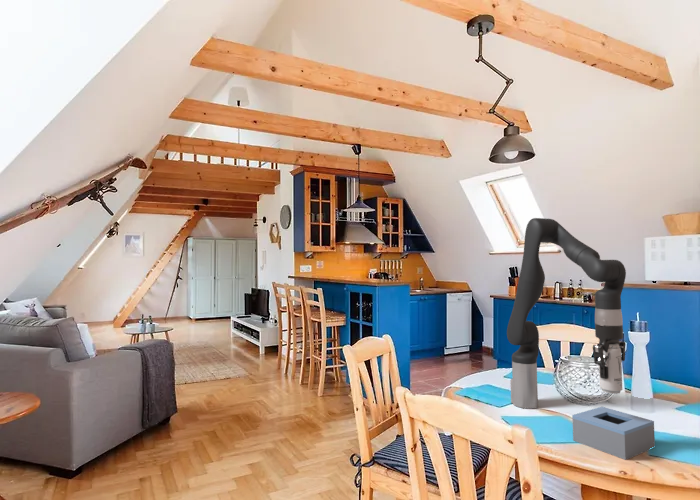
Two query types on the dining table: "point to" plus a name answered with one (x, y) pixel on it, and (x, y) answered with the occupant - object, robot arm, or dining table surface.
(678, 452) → the dining table surface
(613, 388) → the energy drink can
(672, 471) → the dining table surface
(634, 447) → the box
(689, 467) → the dining table surface
